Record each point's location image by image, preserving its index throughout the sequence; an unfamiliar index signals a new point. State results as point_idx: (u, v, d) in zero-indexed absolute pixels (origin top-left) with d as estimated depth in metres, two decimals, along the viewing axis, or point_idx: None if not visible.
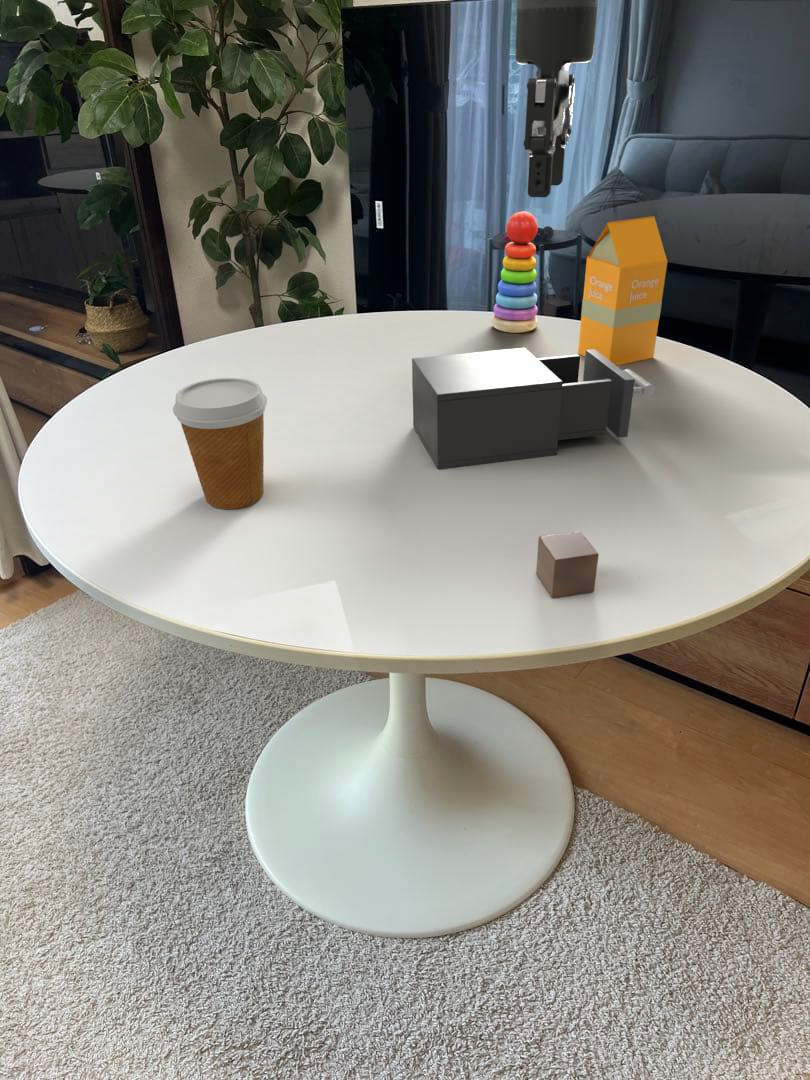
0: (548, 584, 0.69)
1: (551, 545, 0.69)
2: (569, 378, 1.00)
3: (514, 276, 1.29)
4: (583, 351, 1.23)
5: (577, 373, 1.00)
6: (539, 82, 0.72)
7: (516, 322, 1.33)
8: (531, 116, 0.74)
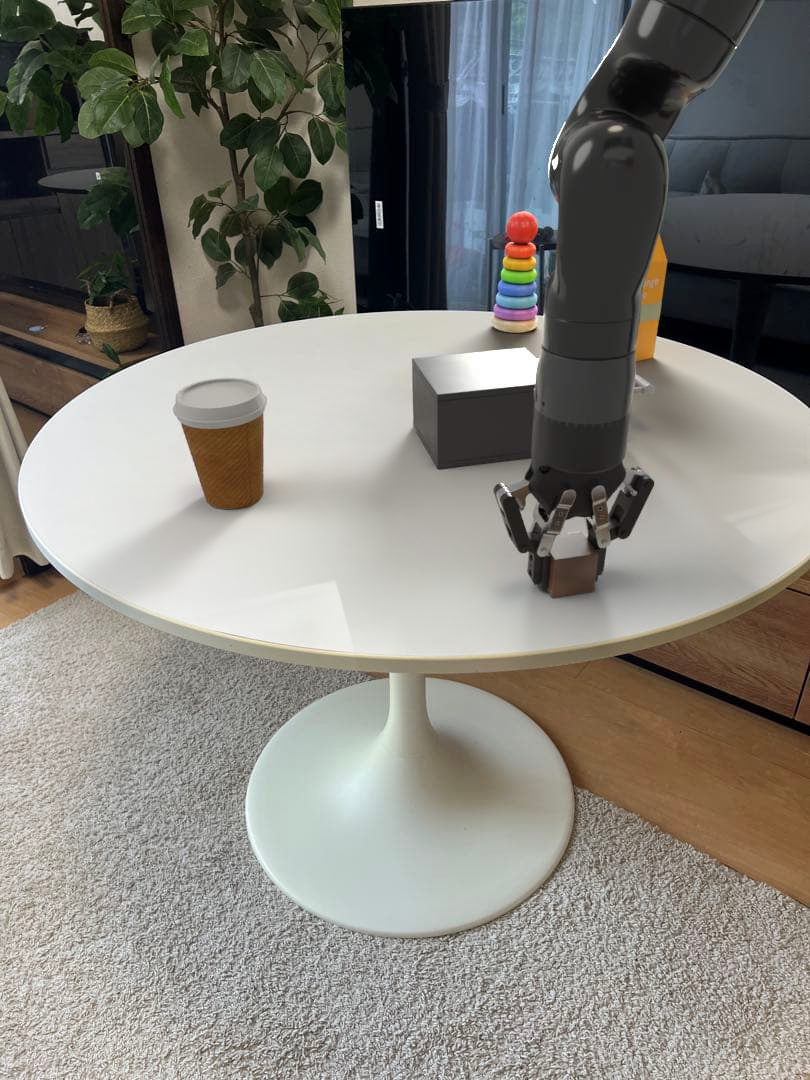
0: None
1: None
2: None
3: (514, 276, 1.29)
4: None
5: None
6: (498, 495, 0.65)
7: (516, 322, 1.33)
8: (503, 518, 0.67)
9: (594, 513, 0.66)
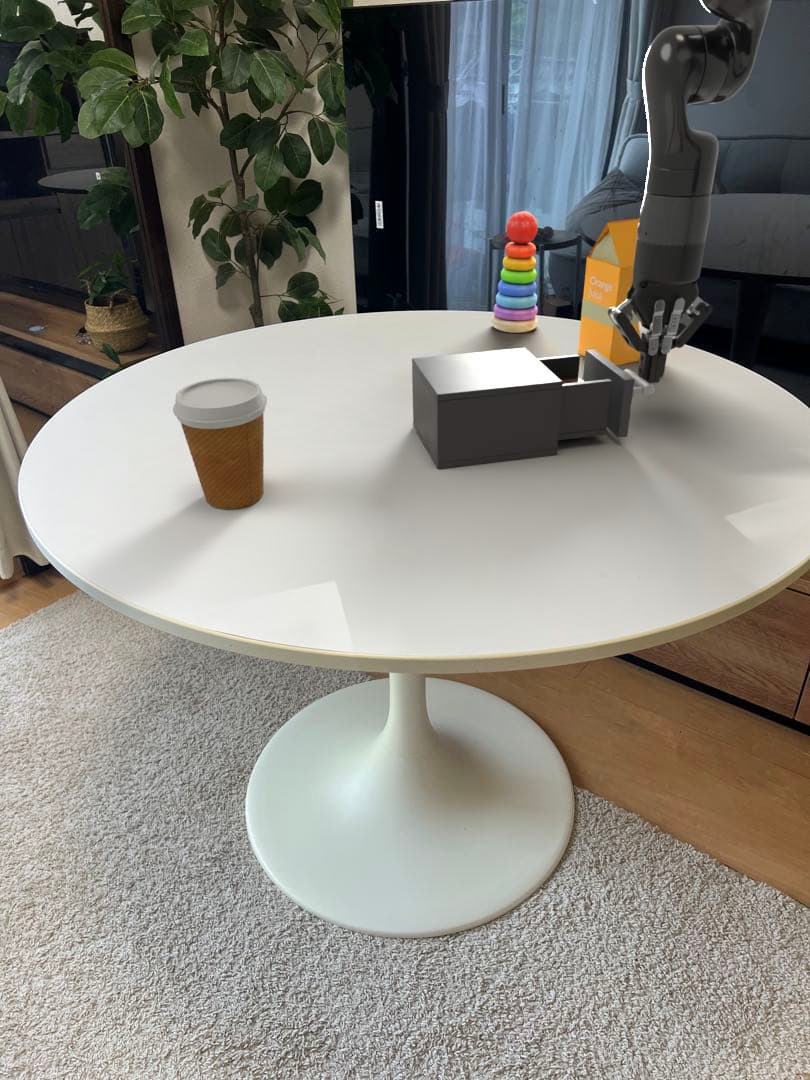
0: None
1: None
2: (569, 378, 1.00)
3: (514, 276, 1.29)
4: (583, 351, 1.23)
5: (577, 373, 1.00)
6: (611, 315, 0.93)
7: (516, 322, 1.33)
8: (620, 331, 0.95)
9: (670, 320, 0.93)
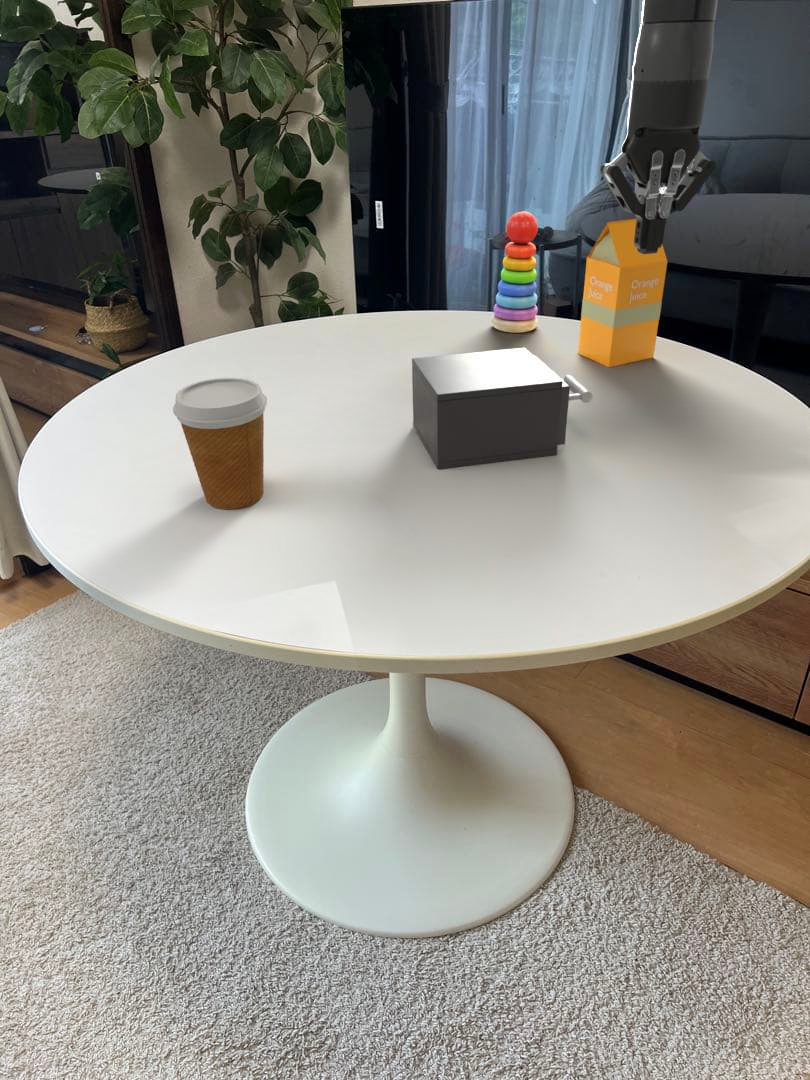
0: None
1: None
2: None
3: (514, 276, 1.29)
4: (583, 351, 1.23)
5: None
6: (604, 171, 0.84)
7: (516, 322, 1.33)
8: (614, 192, 0.86)
9: (669, 176, 0.84)
